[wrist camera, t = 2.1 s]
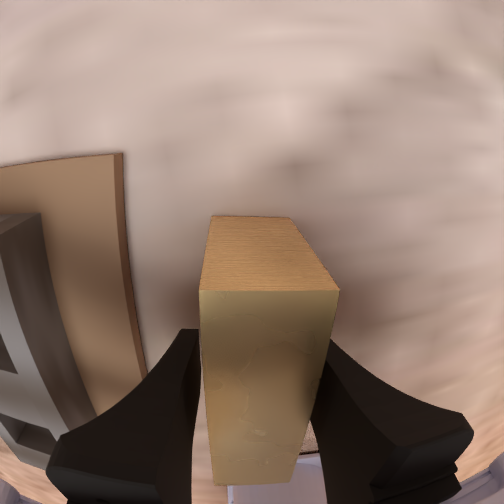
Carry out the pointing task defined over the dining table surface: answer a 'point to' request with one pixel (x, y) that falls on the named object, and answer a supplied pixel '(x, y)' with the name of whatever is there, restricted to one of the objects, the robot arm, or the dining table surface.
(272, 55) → the dining table surface
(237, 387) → the pine wood offcut
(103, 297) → the rail board
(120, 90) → the dining table surface
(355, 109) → the dining table surface
